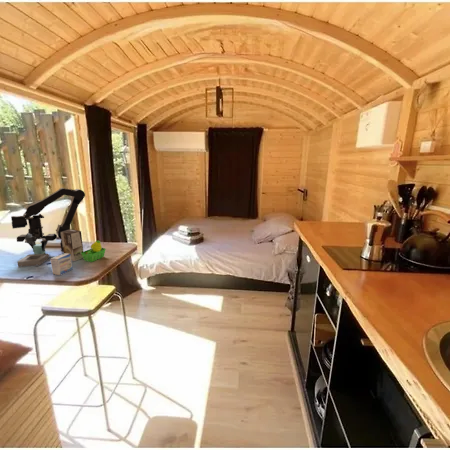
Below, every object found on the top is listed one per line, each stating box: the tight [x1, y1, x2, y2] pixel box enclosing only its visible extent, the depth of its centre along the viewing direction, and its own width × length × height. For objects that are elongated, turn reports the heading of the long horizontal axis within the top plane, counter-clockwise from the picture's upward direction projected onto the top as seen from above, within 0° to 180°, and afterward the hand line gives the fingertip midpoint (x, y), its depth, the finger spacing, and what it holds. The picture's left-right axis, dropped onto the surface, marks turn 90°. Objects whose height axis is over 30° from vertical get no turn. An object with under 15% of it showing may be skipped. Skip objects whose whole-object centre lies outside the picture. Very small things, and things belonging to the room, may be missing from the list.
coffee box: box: [60, 228, 84, 262], centre depth 143 cm, size 9×6×16 cm
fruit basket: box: [81, 240, 107, 263], centre depth 143 cm, size 11×9×11 cm
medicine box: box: [50, 252, 73, 276], centre depth 126 cm, size 8×4×9 cm, turn 168°
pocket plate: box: [17, 253, 50, 267], centre depth 138 cm, size 10×11×2 cm
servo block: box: [32, 243, 46, 254], centre depth 149 cm, size 4×7×6 cm, turn 12°
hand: (39, 251), depth 150 cm, fingers closed on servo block, 4 cm apart
